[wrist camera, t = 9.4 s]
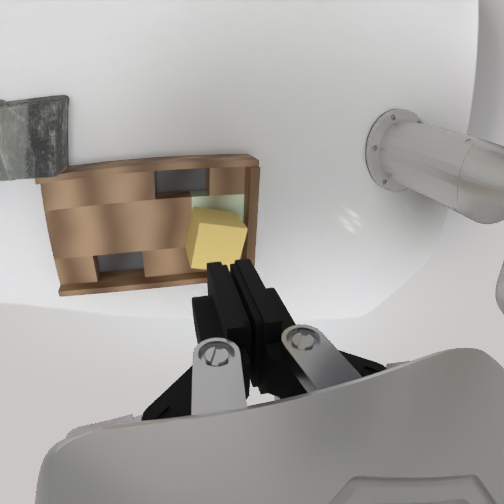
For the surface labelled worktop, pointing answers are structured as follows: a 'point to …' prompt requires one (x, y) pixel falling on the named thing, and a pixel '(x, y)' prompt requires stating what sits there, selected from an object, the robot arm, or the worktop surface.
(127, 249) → the box
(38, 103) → the stone block
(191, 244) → the block
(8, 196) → the worktop surface
